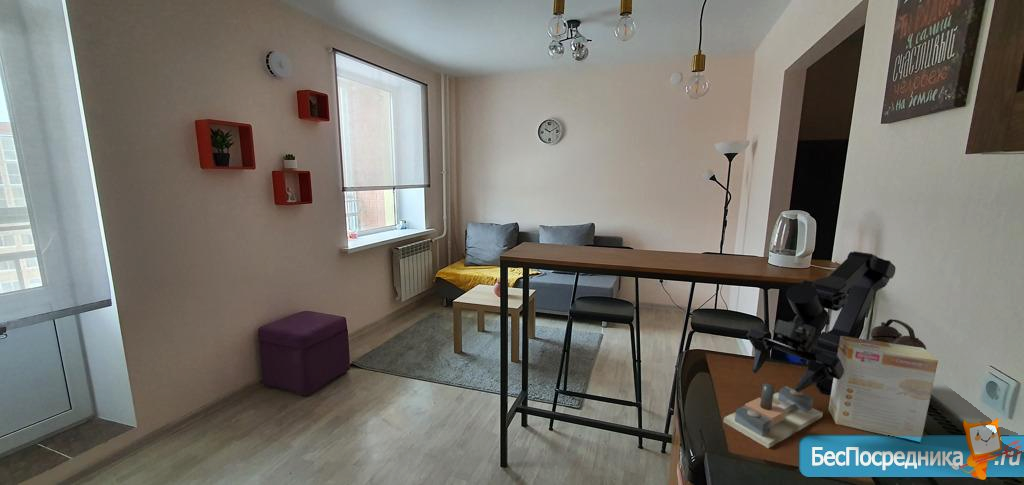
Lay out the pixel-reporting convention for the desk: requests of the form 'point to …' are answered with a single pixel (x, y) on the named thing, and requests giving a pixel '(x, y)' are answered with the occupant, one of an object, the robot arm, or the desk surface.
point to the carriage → (767, 405)
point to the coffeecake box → (882, 387)
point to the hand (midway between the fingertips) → (774, 381)
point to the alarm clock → (895, 335)
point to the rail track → (768, 435)
